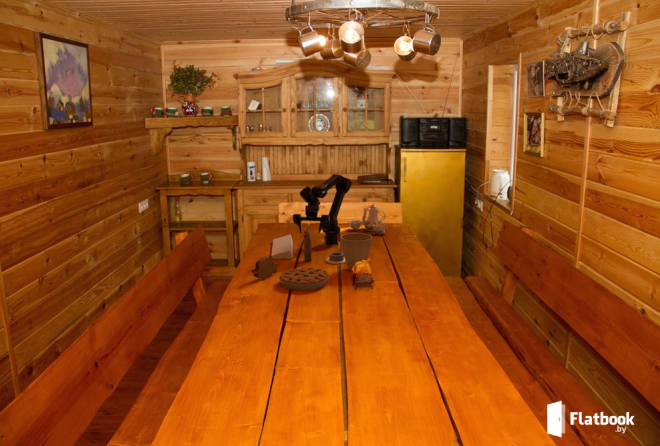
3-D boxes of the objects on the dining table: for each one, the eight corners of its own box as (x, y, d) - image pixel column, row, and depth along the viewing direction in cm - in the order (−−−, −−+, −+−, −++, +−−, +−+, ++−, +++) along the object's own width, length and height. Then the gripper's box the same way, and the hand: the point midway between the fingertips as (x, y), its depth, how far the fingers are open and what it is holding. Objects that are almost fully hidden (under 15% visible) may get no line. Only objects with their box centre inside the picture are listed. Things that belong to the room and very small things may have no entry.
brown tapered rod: (309, 259, 282) (309, 230, 279) (312, 261, 279) (312, 232, 276) (303, 260, 281) (302, 231, 278) (305, 262, 278) (305, 232, 274)
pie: (293, 273, 260) (292, 263, 259) (336, 279, 252) (336, 268, 251) (270, 288, 241) (270, 277, 240) (317, 295, 232) (316, 283, 231)
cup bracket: (327, 257, 286) (327, 250, 285) (348, 258, 285) (348, 251, 284) (324, 263, 275) (324, 256, 275) (346, 264, 274) (346, 257, 273)
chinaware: (344, 233, 344) (342, 207, 339) (357, 225, 357) (356, 200, 352) (385, 238, 330) (384, 211, 325) (397, 230, 343) (396, 204, 338)
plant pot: (334, 268, 267) (334, 236, 264) (358, 262, 276) (358, 231, 273) (354, 276, 256) (354, 242, 252) (378, 270, 265) (378, 237, 261)
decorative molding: (274, 264, 284) (293, 259, 284) (271, 256, 283) (290, 250, 283) (276, 247, 318) (293, 242, 318) (273, 239, 316) (290, 234, 316)
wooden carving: (271, 272, 262) (270, 251, 260) (279, 273, 260) (279, 253, 258) (249, 282, 248) (248, 260, 246) (257, 283, 246) (257, 262, 244)
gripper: (292, 198, 286) (288, 224, 278) (329, 199, 284) (326, 225, 275) (296, 210, 295) (292, 235, 287) (331, 211, 293) (328, 237, 285)
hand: (309, 233), depth 283 cm, fingers open, 9 cm apart
